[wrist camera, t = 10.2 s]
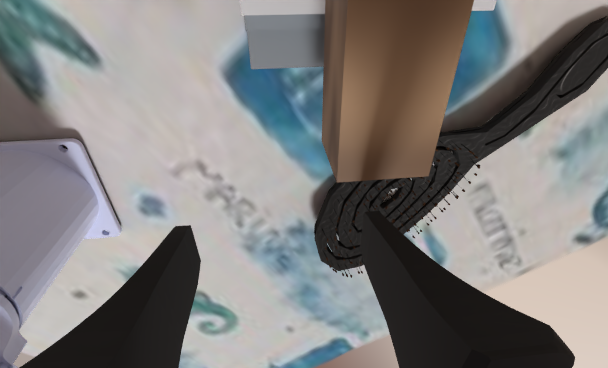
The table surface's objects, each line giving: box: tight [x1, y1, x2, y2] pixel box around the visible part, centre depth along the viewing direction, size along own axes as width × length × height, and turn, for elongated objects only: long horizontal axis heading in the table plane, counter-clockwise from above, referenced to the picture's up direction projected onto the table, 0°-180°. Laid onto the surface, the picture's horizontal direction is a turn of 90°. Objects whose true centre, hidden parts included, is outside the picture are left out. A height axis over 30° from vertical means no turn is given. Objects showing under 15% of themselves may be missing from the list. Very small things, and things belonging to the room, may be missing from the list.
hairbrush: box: [314, 16, 608, 278], centre depth 22 cm, size 8×4×25 cm
